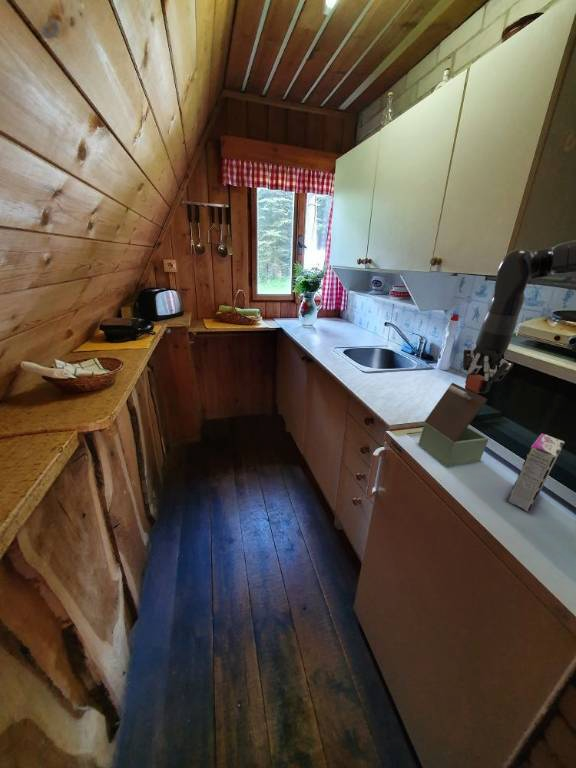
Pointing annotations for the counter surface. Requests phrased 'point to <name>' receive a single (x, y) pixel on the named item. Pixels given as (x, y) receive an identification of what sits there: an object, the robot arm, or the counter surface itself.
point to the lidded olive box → (453, 446)
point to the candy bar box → (535, 471)
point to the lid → (455, 411)
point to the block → (474, 383)
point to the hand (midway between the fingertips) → (475, 389)
